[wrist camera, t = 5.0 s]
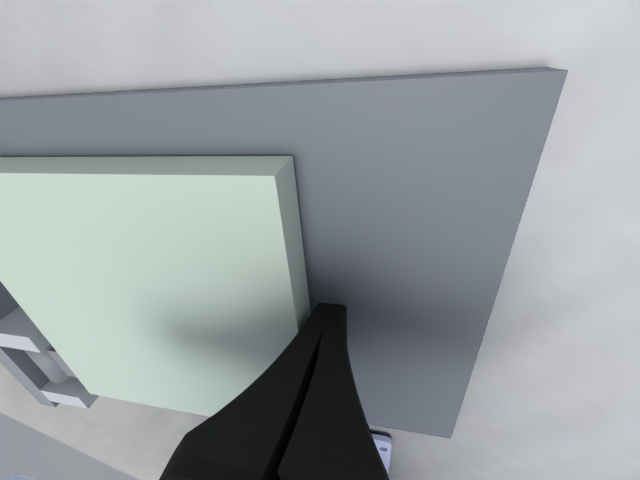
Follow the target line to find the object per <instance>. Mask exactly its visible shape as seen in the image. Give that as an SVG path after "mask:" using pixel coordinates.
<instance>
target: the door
mask: <svg viewBox="0 0 640 480" xmlns="http://www.w3.org/2000/svg"><path fill="white" fill-rule="evenodd" d="M0 281H1V283H2V284H3V285H4V286H5V288H6V289H7V290H8V291H9V293H10V294H11V295H12V296H13V298H14V299H15V300H16V301H17V303H18V304H19V305H20V306H21V308H22V309H23V310H24V311H25V313H26V314H27V315H28V316H29V318H30V319H31V320H32V321H33V323H34V324H35V325H36V326H37V328H38V329H39V330H40V332H41V333H42V334H43V335H44V337H45V338H46V339H47V340H48V342H49V343H50V345H49V346H48V347H47V348H46V349H45V350H44V351H42V352H41V353H39V352H33V351H27V350H24V351H25V352H26V353H27V354H28V356H29V357H30V358H31V359H32V360H33V361H34V362H35V364H36V365H37V366H38V367H39V368H40V369H41V370H42V372H43V373H44V374H45V375H46V376H47V377H48V378H49V379H50V381H51V382H53V383H61V382H64V381H67V380H69V379H70V378H72V377H76V378H78V379H79V380H80V382H81V383H82V384H83V385H84V387H85V388H86V389H87V390H88V392H89V393H90V394H94V395H99V396H104V397H110V398H115V399H120V400H125V401H131V402H136V403H141V404H146V405H152V406H157V407H162V408H167V409H173V410H178V411H183V412H189V413H194V414H199V415H204V416H210V417H211V416H213V415H214V414H215V413H217V412H218V411H219V410H221V409H222V408H223V407H224V406H226V405H227V404H228V403H229V402H231V401H232V400H233V399H234V398H236V397H237V396H238V395H239V394H241V393H242V392H243V391H244V390H245V389H246V388H247V387H248V386H250V385H251V384H252V383H253V382H254V381H255V380H256V379H257V378H258V377H259V376H260V375H261V374H262V373H263V372H264V371H265V370H266V369H267V368H268V367H269V366H270V365H271V364H272V363H273V362H274V361H275V360H276V359H277V357H278V356H279V355H280V354H281V353H282V352H283V350H284V349H285V348H286V347H287V346H288V345H289V343H290V342H291V341H292V340H293V338H294V337H295V336H296V334H297V333H298V332H299V330H300V329H301V328H302V326H303V325H304V323H305V322H306V320H307V319H308V317H309V316H310V314H311V312H310V303H309V294H308V285H307V277H306V268H305V259H304V250H303V241H302V233H301V224H300V215H299V206H298V197H297V188H296V180H295V171H294V162H293V156H144V157H0Z"/></svg>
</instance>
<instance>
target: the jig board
mask: <svg viewBox="0 0 640 480" xmlns="http://www.w3.org/2000/svg"><path fill="white" fill-rule="evenodd" d="M567 72H568V70H562V69H555V68H549V67H545V68H527V69H510V70H492V71H474V72H456V73H438V74H421V75H403V76H385V77H367V78H349V79H332V80H314V81H296V82H278V83H260V84H243V85H225V86H207V87H189V88H171V89H154V90H136V91H118V92H100V93H82V94H65V95H47V96H29V97H11V98H0V157H144V156H293V162H294V171H295V180H296V188H297V197H298V206H299V215H300V224H301V233H302V241H303V250H304V259H305V268H306V277H307V285H308V294H309V303H310V312H311V313H312V311H313V310H314V308H315V306H316V305H317V304H318V303H319V302H320V303H330V304H340V305H345V306H346V307H347V348H348V354H349V360H350V364H351V369H352V373H353V378H354V381H355V385H356V389H357V392H358V396H359V399H360V402H361V406H362V409H363V412H364V414H365V417H366V420H367V423H368V424H370V425H376V426H382V427H387V428H393V429H399V430H404V431H410V432H416V433H421V434H427V435H433V436H439V437H444V438H450V439H451V436H452V433H453V430H454V427H455V423H456V420H457V417H458V414H459V411H460V408H461V405H462V402H463V398H464V395H465V392H466V389H467V386H468V383H469V380H470V376H471V373H472V370H473V367H474V364H475V361H476V358H477V354H478V351H479V348H480V345H481V342H482V339H483V336H484V333H485V329H486V326H487V323H488V320H489V317H490V314H491V311H492V307H493V304H494V301H495V298H496V295H497V292H498V289H499V286H500V282H501V279H502V276H503V273H504V270H505V267H506V264H507V260H508V257H509V254H510V251H511V248H512V245H513V242H514V238H515V235H516V232H517V229H518V226H519V223H520V220H521V217H522V213H523V210H524V207H525V204H526V201H527V198H528V195H529V191H530V188H531V185H532V182H533V179H534V176H535V173H536V170H537V166H538V163H539V160H540V157H541V154H542V151H543V148H544V144H545V141H546V138H547V135H548V132H549V129H550V126H551V122H552V119H553V116H554V113H555V110H556V107H557V104H558V101H559V97H560V94H561V91H562V88H563V85H564V82H565V79H566V75H567ZM49 345H50V343H49V342H48V340H47V339H46V338H45V337H44V335H43V334H42V333H41V332H40V330H39V329H38V328H37V326H36V325H35V324H34V323H33V321H32V320H31V319H30V318H29V316H28V315H27V314H26V313H25V311H24V310H23V309H22V308H21V306H20V305H19V304H18V303H17V301H16V300H15V299H14V298H13V296H12V295H11V294H10V293H9V291H8V290H7V289H6V288H5V286H4V285H3V284H2V283H1V281H0V362H1V363H2V364H3V365H4V366H5V367H6V368H7V369H8V370H9V371H10V372H11V373H12V375H13V376H14V377H15V378H16V379H17V380H18V381H19V382H20V383H21V384H22V385H23V386H24V387H25V388H26V389H27V390H28V391H29V392H30V393H31V394H32V395H33V396H34V397H35V398H36V399H37V400H38V401H39V402H40V403H41V404H43V405H48V406H53V407H56V406H57V405H58V404H59V403H62V404H67V405H72V406H77V407H81V408H86V409H88V408H89V407H90V406H91V405H92V404H93V402H94V401H95V400H96V399H97V398H98V396H99V395H94V394H90V393H89V392H88V390H87V389H86V388H85V387H84V385H83V384H82V383H81V382H80V380H79V379H78V378H76V377H72V378H70V379H69V380H67V381H64V382H61V383H53V382H51V381H50V379H49V378H48V377H47V376H46V375H45V374H44V373H43V372H42V370H41V369H40V368H39V367H38V366H37V365H36V364H35V362H34V361H33V360H32V359H31V358H30V357H29V356H28V354H27V353H26V352H25V351H24V350H27V351H33V352H39V353H41V352H42V351H44V350H45V349H46V348H47V347H48V346H49Z"/></svg>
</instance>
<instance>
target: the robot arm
mask: <svg viewBox="0 0 640 480" xmlns="http://www.w3.org/2000/svg"><path fill="white" fill-rule="evenodd" d="M391 449H392V440H391V439H390V438H389V437H387V436H383V435H377V434H372V433H371V432H370V429H369V426H368V423H367V420H366V417H365V414H364V412H363V409H362V406H361V402H360V399H359V396H358V392H357V389H356V385H355V381H354V378H353V373H352V369H351V364H350V360H349V354H348V348H347V307H346V306H345V305H340V304H330V303H320V302H319V303H318V304H317V305H316V306H315V308H314V310H313V311H312V313H311V314H310V316H309V317H308V319H307V320H306V322H305V323H304V325H303V326H302V328H301V329H300V330H299V332H298V333H297V334H296V336H295V337H294V338H293V340H292V341H291V342H290V343H289V345H288V346H287V347H286V348H285V349H284V350H283V352H282V353H281V354H280V355H279V356H278V357H277V359H276V360H275V361H274V362H273V363H272V364H271V365H270V366H269V367H268V368H267V369H266V370H265V371H264V372H263V373H262V374H261V375H260V376H259V377H258V378H257V379H256V380H255V381H254V382H253V383H252V384H251V385H250V386H248V387H247V388H246V389H245V390H244V391H243V392H242V393H241V394H239V395H238V396H237V397H236V398H234V399H233V400H232V401H231V402H229V403H228V404H227V405H226V406H224V407H223V408H222V409H221V410H219V411H218V412H217V413H215V414H214V415H213V416H211V417H210V418H208V419H207V420H205V421H204V422H203V423H201V424H200V425H198V426H197V427H195V428H194V429H193V430H191V431H190V432H188V433H187V434H186V435H185V436H184V438H183V439H182V441H181V442H180V444H179V445H178V447H177V448H176V450H175V451H174V453H173V455H172V457H171V459H170V460H169V462H168V464H167V466H166V468H165V470H164V471H163V473H162V475H161V477H160V479H159V480H389V477H388V474H389V466H390V458H391ZM6 480H37V479H34V478H29V477H26V476H23V475H19V474H15V473H14V474H11V475H10V476H9V477H8V478H7V479H6Z"/></svg>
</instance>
